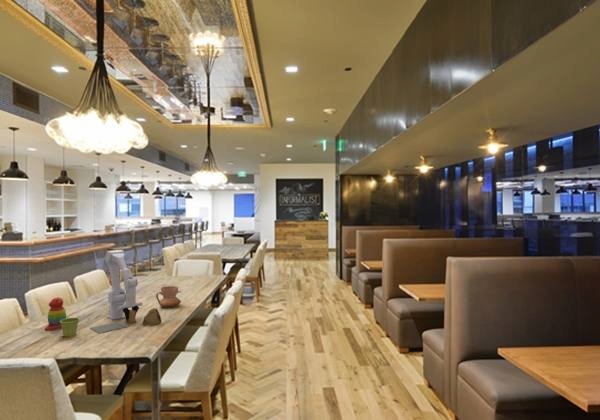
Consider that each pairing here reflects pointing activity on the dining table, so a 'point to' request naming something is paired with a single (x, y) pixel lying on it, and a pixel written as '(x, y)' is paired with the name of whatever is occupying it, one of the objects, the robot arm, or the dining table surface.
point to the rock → (152, 317)
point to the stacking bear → (55, 314)
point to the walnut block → (132, 316)
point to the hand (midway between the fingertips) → (130, 319)
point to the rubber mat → (108, 327)
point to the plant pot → (69, 326)
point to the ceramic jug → (169, 296)
